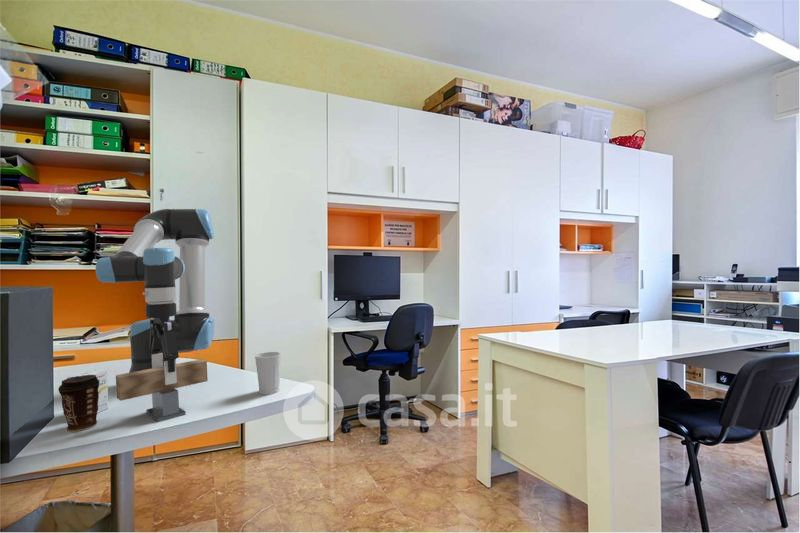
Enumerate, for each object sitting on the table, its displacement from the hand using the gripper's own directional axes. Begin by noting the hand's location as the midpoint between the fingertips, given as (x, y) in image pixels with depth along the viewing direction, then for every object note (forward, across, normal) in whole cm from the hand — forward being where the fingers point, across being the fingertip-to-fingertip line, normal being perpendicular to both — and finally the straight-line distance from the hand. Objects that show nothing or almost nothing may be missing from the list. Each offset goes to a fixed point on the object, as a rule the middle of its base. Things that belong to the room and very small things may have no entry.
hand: (164, 379), depth 116 cm
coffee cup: (+10, -7, -18) cm, 22 cm away
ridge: (+10, 0, 0) cm, 10 cm away
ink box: (+10, -18, -15) cm, 25 cm away
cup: (+10, +5, +29) cm, 31 cm away
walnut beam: (+3, 0, 0) cm, 3 cm away
